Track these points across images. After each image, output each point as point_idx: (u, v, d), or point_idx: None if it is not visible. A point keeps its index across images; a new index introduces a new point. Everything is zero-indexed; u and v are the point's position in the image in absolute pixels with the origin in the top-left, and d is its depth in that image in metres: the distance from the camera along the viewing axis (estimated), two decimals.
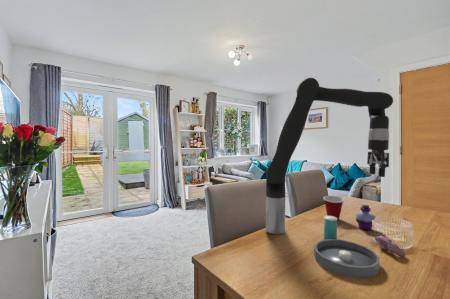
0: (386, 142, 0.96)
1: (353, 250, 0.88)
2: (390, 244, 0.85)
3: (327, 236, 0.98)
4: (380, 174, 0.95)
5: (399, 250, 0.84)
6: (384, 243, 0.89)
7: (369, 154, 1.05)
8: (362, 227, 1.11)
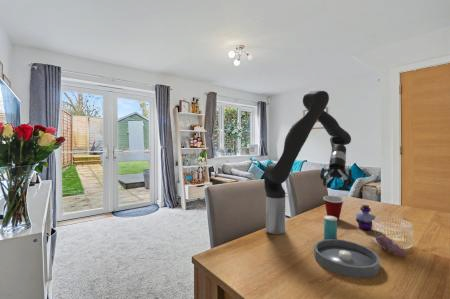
0: None
1: (353, 250, 0.88)
2: (391, 244, 0.85)
3: (327, 236, 0.98)
4: (345, 185, 1.06)
5: (400, 250, 0.84)
6: (385, 243, 0.89)
7: (324, 170, 1.17)
8: (362, 227, 1.11)
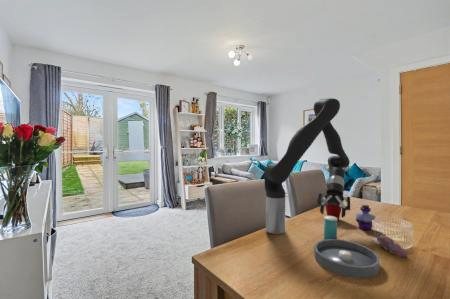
0: None
1: (353, 250, 0.88)
2: (392, 244, 0.85)
3: (327, 236, 0.98)
4: (344, 214, 1.01)
5: (401, 250, 0.84)
6: (386, 243, 0.89)
7: (321, 195, 1.12)
8: (362, 227, 1.11)
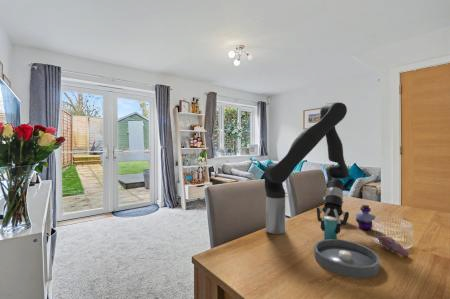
0: None
1: (353, 250, 0.88)
2: (393, 244, 0.85)
3: (327, 236, 0.98)
4: (338, 230, 0.97)
5: (402, 250, 0.84)
6: (387, 243, 0.89)
7: (319, 210, 1.06)
8: (362, 227, 1.11)
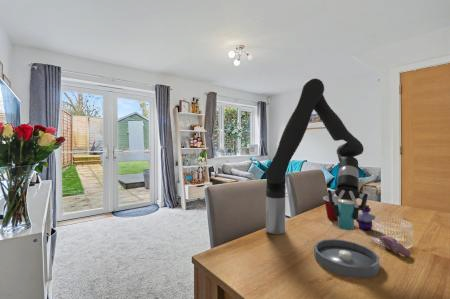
0: None
1: (353, 250, 0.88)
2: (395, 244, 0.86)
3: (342, 223, 0.81)
4: (356, 215, 0.79)
5: (404, 250, 0.84)
6: (389, 243, 0.89)
7: (331, 192, 0.88)
8: (362, 227, 1.11)
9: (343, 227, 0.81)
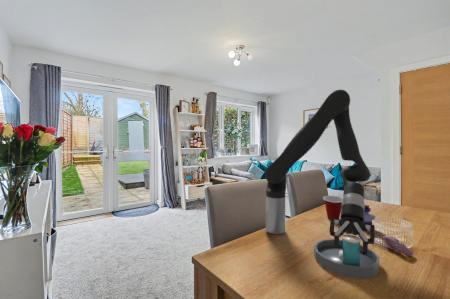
0: None
1: None
2: (397, 243, 0.86)
3: (347, 262, 0.75)
4: (366, 250, 0.73)
5: (406, 249, 0.85)
6: (391, 242, 0.89)
7: (334, 221, 0.83)
8: None
9: None
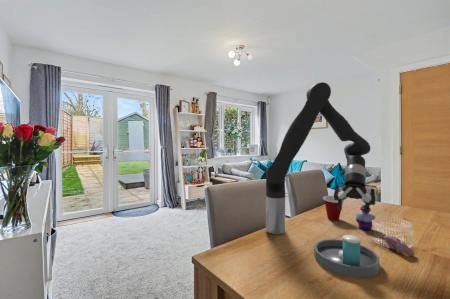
0: None
1: None
2: (399, 243, 0.86)
3: (347, 263, 0.75)
4: (368, 209, 0.83)
5: (408, 249, 0.85)
6: (393, 242, 0.89)
7: (338, 188, 0.93)
8: (362, 227, 1.11)
9: None
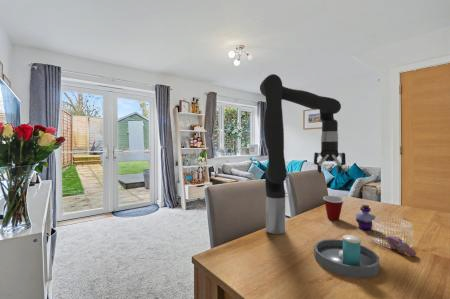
0: None
1: None
2: (401, 243, 0.86)
3: (347, 262, 0.75)
4: (340, 171, 1.09)
5: (410, 249, 0.85)
6: (394, 242, 0.89)
7: (317, 155, 1.11)
8: (362, 227, 1.11)
9: None
